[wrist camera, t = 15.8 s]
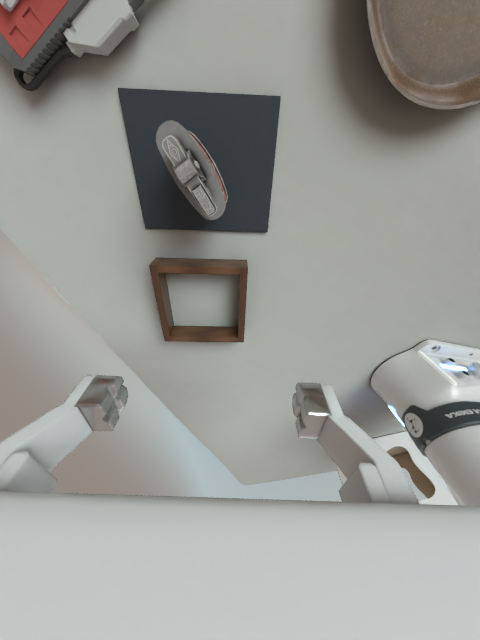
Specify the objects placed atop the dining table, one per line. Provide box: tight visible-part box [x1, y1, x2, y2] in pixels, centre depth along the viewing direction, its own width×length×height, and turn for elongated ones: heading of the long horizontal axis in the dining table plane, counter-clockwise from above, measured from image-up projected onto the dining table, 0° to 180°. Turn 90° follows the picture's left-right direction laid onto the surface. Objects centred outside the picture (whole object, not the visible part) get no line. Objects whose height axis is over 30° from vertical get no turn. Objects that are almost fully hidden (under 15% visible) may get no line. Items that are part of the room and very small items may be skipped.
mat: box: [118, 88, 280, 232], centre depth 26 cm, size 16×13×1 cm
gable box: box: [335, 431, 458, 505], centre depth 54 cm, size 22×13×28 cm, turn 114°
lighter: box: [156, 120, 228, 220], centre depth 22 cm, size 8×3×10 cm, turn 31°
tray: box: [149, 258, 248, 342], centre depth 35 cm, size 13×13×3 cm
